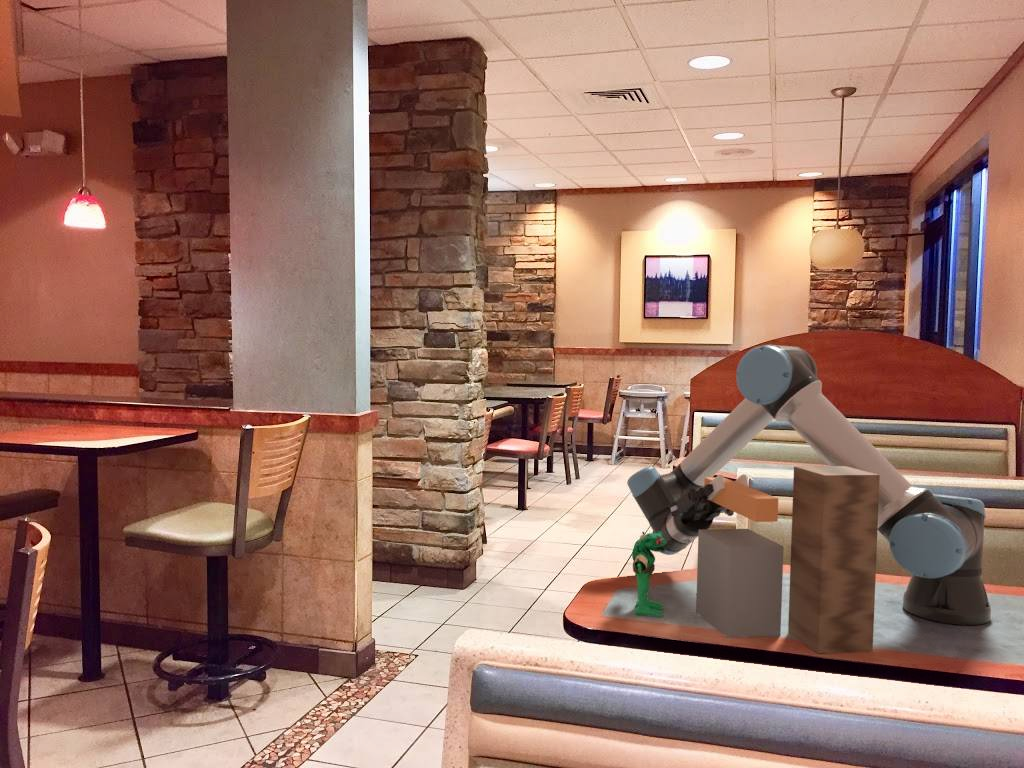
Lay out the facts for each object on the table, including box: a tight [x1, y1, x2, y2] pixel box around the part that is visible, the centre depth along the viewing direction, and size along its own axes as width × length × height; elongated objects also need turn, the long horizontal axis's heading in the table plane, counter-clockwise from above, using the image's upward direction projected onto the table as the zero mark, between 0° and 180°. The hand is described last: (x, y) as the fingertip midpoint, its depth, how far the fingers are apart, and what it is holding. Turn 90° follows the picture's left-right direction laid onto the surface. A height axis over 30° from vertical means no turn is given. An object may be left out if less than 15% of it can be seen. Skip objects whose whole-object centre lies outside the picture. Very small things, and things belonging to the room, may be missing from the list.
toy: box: [631, 531, 667, 618], centre depth 158 cm, size 26×6×15 cm, turn 168°
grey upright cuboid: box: [695, 528, 785, 639], centre depth 151 cm, size 10×14×16 cm
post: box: [787, 465, 880, 655], centre depth 142 cm, size 10×10×30 cm
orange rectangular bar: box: [703, 476, 779, 523], centre depth 151 cm, size 4×22×4 cm, turn 10°
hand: (733, 481), depth 153 cm, fingers closed on orange rectangular bar, 4 cm apart
